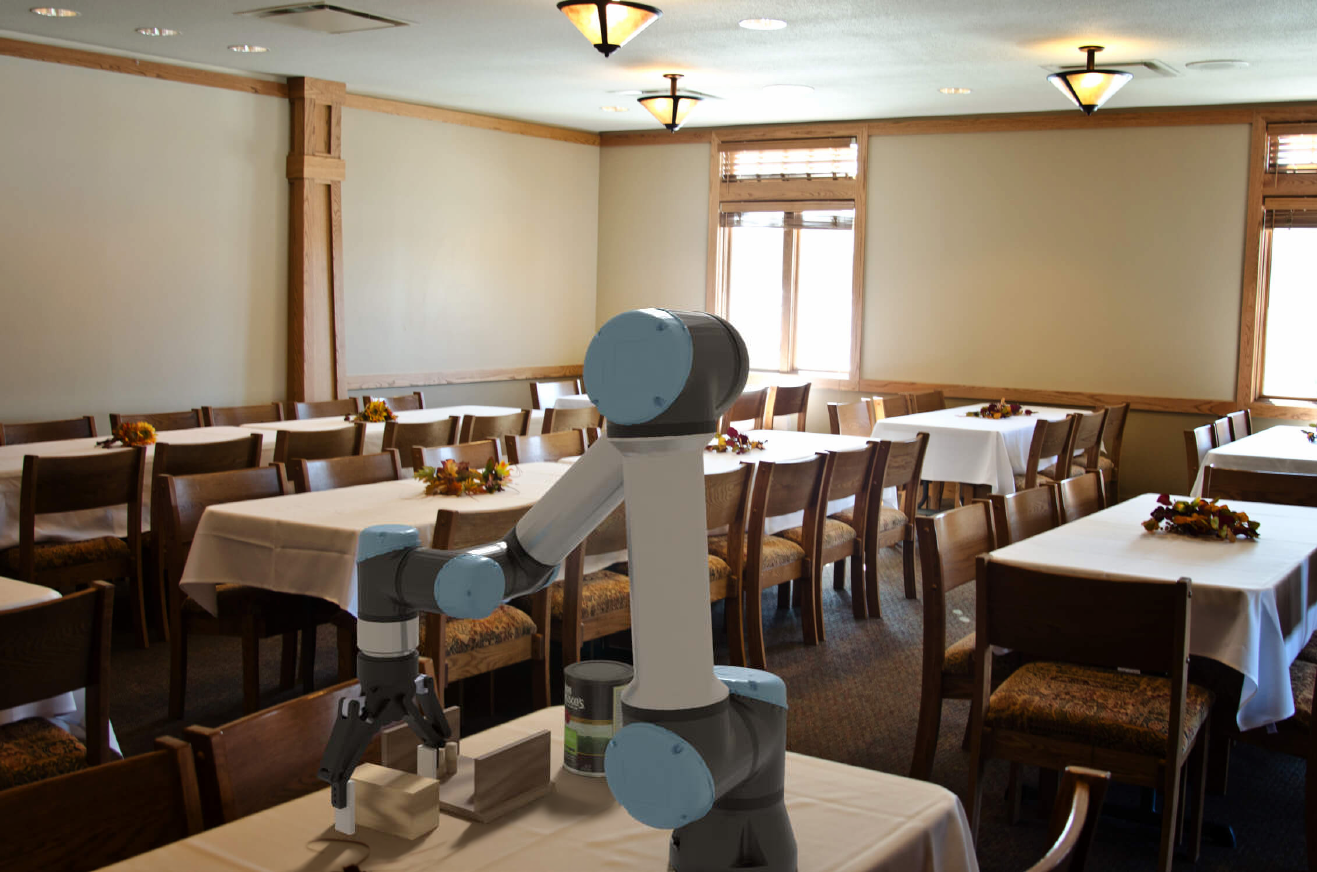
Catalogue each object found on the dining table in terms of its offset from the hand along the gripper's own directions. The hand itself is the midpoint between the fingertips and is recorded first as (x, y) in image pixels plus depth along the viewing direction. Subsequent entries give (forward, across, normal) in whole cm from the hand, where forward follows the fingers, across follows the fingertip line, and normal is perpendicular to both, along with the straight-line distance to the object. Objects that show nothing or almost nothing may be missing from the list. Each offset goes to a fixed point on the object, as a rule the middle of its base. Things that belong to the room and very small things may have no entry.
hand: (387, 813), depth 149 cm
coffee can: (+1, -32, +9) cm, 33 cm away
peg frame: (+1, -14, 0) cm, 14 cm away
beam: (+1, 0, 0) cm, 1 cm away
